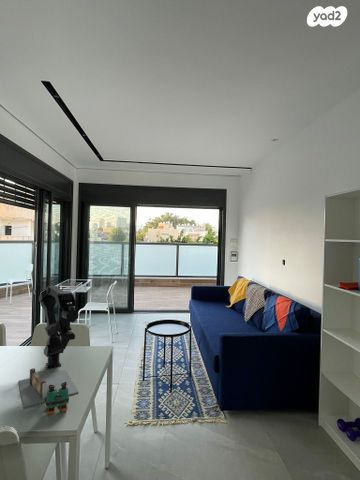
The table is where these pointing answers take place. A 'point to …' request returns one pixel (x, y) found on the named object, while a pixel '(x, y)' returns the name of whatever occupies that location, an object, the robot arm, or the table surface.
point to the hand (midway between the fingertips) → (63, 349)
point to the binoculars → (57, 398)
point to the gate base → (45, 387)
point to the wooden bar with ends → (36, 381)
